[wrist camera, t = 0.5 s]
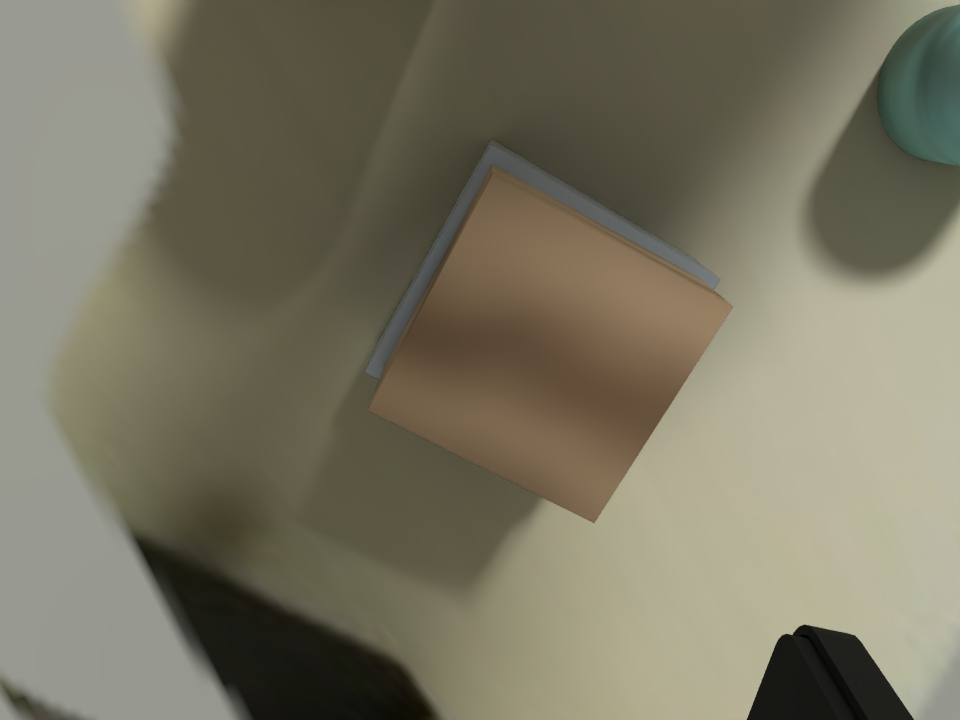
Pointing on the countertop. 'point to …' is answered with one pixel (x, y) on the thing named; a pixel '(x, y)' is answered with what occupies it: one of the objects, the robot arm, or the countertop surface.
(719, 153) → the countertop surface
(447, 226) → the slate base block
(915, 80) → the teal cylinder
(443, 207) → the countertop surface
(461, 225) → the walnut block
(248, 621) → the countertop surface
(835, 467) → the countertop surface
